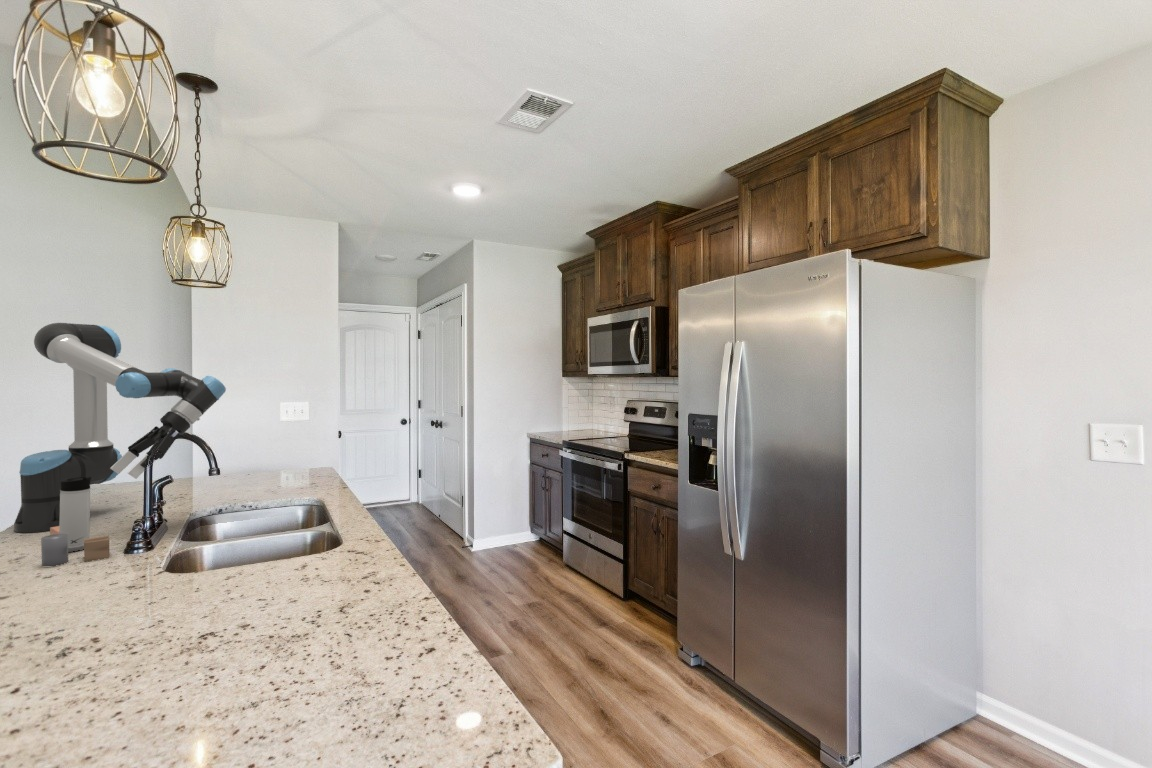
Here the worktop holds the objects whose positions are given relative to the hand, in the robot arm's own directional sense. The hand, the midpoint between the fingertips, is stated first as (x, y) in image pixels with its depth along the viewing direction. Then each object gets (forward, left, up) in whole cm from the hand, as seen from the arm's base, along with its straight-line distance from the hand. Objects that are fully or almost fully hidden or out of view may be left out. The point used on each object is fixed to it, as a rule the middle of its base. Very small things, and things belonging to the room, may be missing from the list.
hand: (122, 473), depth 164 cm
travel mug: (+5, -9, -19) cm, 22 cm away
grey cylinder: (+18, -9, -19) cm, 28 cm away
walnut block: (+16, -1, -20) cm, 25 cm away
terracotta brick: (-5, -16, -20) cm, 26 cm away
